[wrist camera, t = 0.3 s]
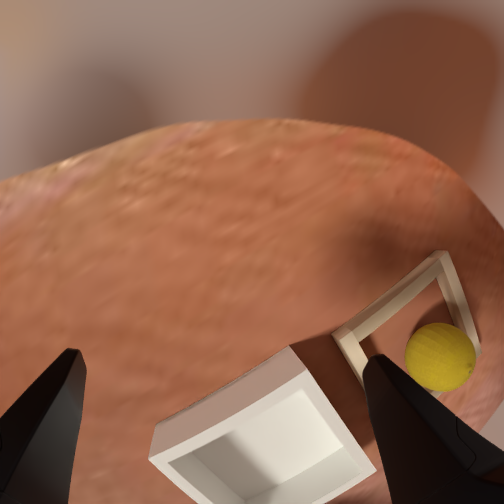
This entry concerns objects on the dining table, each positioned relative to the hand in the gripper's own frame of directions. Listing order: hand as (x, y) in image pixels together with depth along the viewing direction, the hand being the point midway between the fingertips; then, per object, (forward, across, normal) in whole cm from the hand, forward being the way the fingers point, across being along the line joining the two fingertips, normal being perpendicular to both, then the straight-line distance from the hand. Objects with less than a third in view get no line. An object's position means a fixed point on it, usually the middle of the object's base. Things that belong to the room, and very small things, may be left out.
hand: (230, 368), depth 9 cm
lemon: (+10, -18, +11) cm, 24 cm away
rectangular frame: (+10, -18, +11) cm, 24 cm away
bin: (+6, -5, +19) cm, 20 cm away
